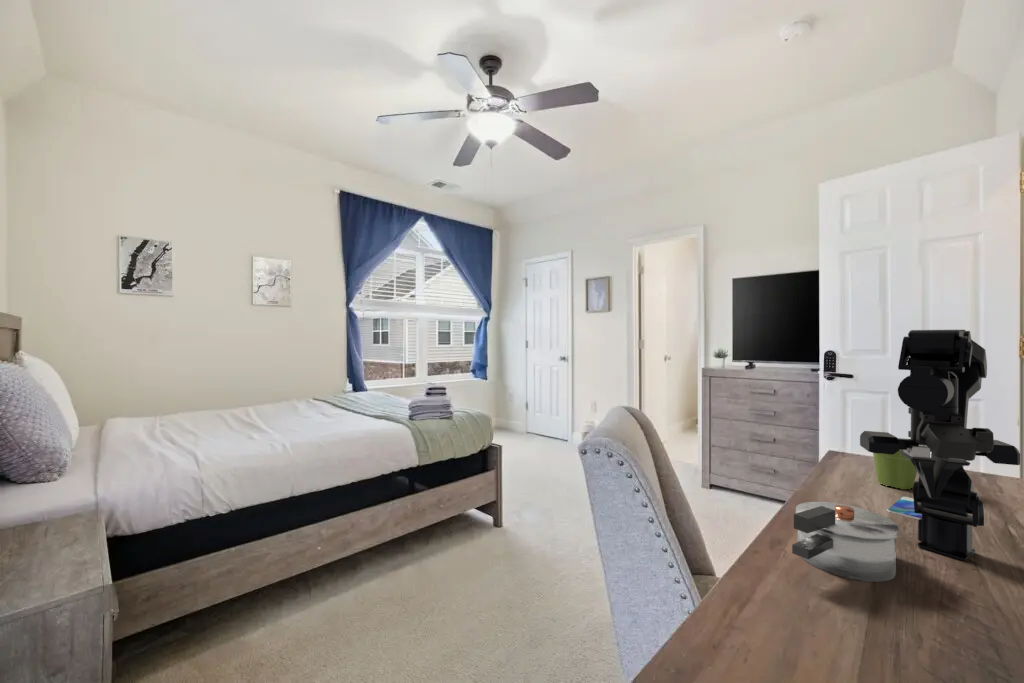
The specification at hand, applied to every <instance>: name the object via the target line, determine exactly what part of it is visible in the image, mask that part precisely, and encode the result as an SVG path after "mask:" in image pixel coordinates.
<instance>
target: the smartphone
mask: <svg viewBox="0 0 1024 683" xmlns="http://www.w3.org/2000/svg"><path fill="white" fill-rule="evenodd" d="M887 511H888V512H887ZM886 512H887V513H889V512H891V513H890V514H892V513H893V514H892V515H896V514H897V515H898V516H900V515H902V516H901V517H905V518H910V519H915V520H919V519H921V518H922V514H917V513H915V512H914V499H913V497H910V496H906V495H905V496H904V495H902V496H900V498H898V499H897V500H896V501H895V502H894V503H893V504H891V505H890V507H888V508H887V509H886Z"/></svg>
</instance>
